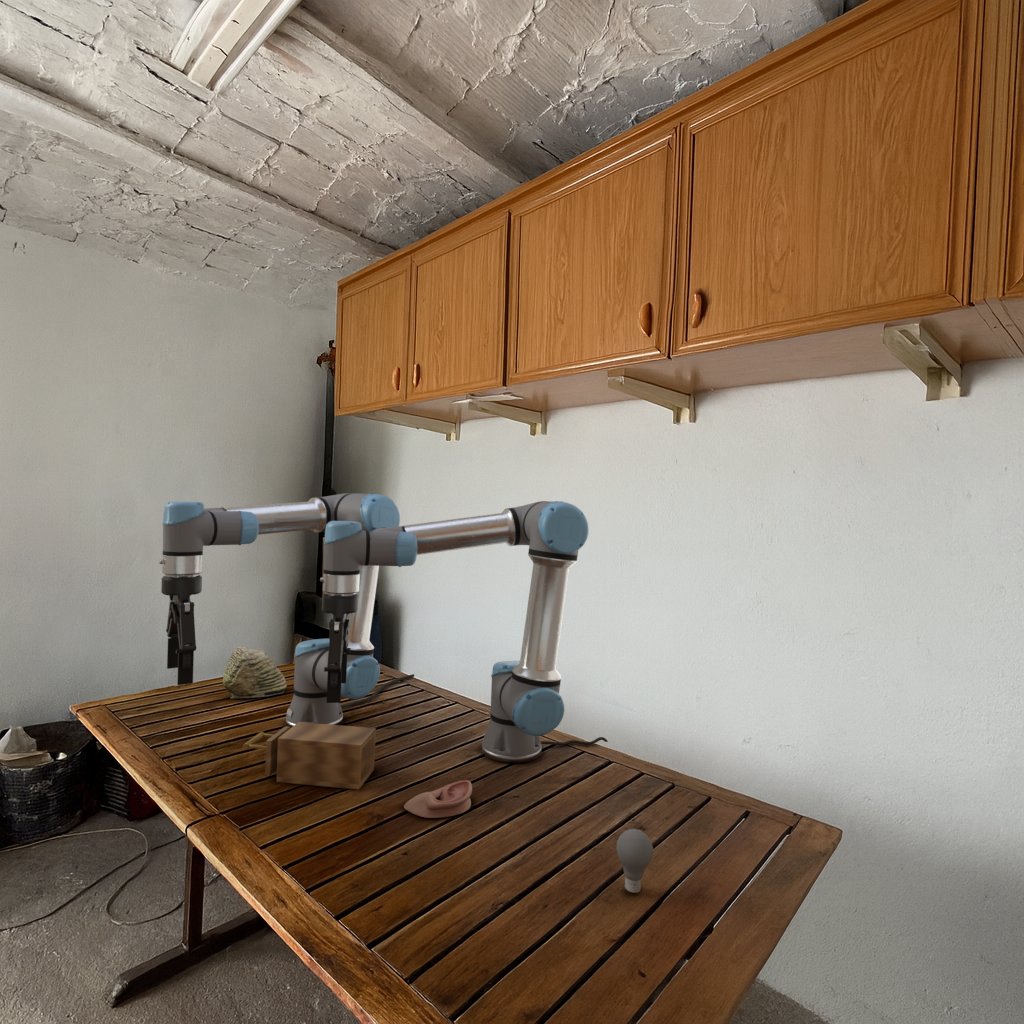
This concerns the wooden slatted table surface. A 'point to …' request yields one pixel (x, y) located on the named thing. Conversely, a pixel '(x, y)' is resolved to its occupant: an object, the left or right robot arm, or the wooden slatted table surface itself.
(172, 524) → the left robot arm
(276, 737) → the drawer
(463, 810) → the anatomical model
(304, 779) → the cabinet
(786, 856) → the wooden slatted table surface
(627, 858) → the light bulb
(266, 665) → the fossil
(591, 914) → the wooden slatted table surface
